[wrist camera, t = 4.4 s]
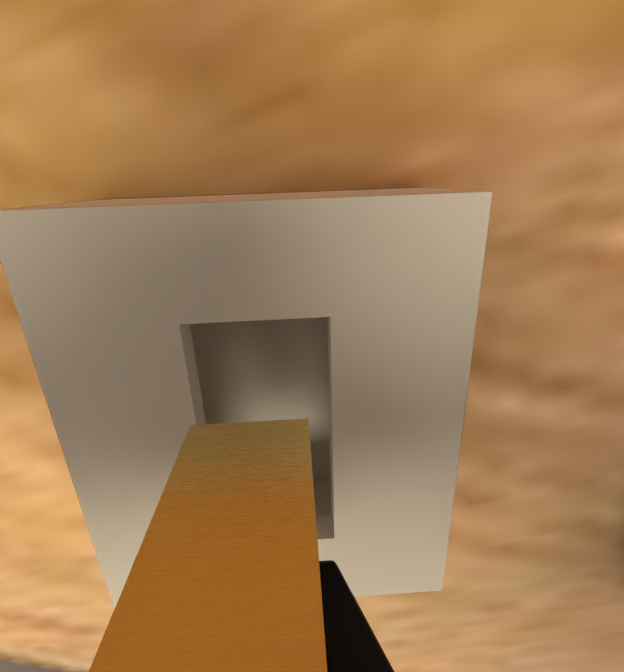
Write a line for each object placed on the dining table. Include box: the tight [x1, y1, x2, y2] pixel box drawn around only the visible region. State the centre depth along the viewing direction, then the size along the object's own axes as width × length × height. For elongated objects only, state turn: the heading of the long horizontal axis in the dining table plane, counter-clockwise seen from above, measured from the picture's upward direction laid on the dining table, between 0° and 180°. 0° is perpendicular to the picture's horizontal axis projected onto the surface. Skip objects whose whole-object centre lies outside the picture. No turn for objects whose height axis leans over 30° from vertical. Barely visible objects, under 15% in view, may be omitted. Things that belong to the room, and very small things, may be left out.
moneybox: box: [0, 188, 493, 609], centre depth 15 cm, size 12×14×6 cm
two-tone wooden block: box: [89, 418, 327, 672], centre depth 7 cm, size 2×6×5 cm, turn 2°
